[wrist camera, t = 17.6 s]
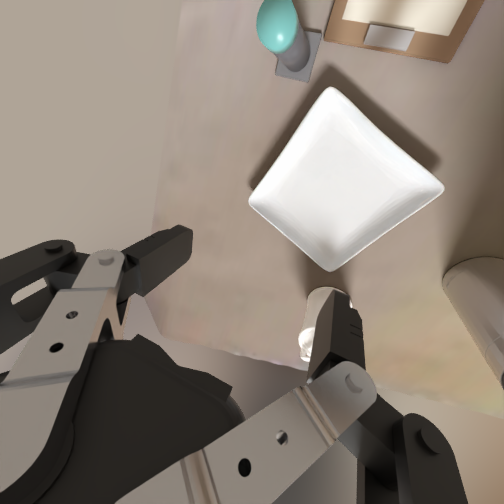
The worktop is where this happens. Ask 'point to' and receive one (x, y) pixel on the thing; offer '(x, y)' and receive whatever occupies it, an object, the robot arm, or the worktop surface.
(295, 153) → the salad plate
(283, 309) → the worktop surface
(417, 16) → the clipboard
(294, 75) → the coaster
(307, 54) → the marker
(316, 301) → the white nozzle bottle
